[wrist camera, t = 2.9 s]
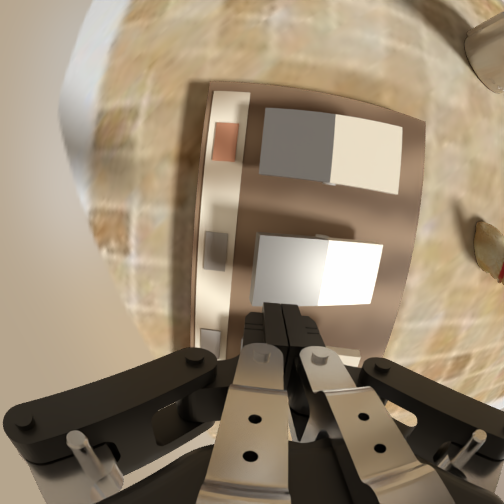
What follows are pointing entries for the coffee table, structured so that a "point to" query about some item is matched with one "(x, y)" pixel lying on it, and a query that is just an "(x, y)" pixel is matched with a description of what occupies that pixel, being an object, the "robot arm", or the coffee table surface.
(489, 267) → the chocolate bunny
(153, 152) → the coffee table surface
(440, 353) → the coffee table surface
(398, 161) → the rocker
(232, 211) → the switch console
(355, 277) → the rocker mid
